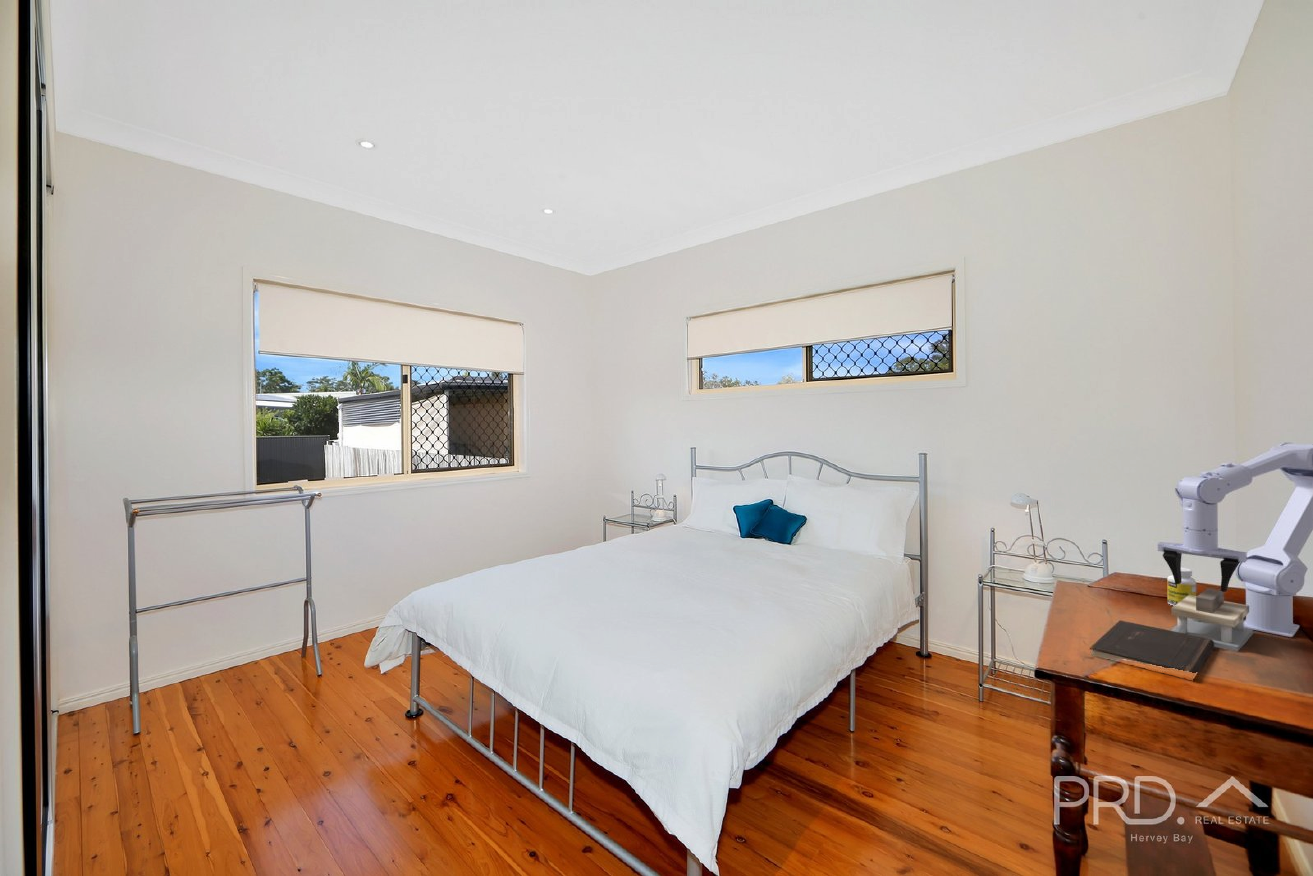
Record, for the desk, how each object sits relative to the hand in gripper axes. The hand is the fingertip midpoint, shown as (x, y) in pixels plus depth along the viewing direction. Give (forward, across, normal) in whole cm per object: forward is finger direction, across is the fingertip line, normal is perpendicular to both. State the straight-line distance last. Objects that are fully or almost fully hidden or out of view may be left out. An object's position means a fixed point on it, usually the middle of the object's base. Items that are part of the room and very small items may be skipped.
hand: (1200, 586), depth 126 cm
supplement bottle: (+11, -7, +18) cm, 22 cm away
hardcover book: (+11, -4, -21) cm, 24 cm away
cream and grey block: (+5, +2, -1) cm, 6 cm away
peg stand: (+10, +2, -1) cm, 11 cm away
